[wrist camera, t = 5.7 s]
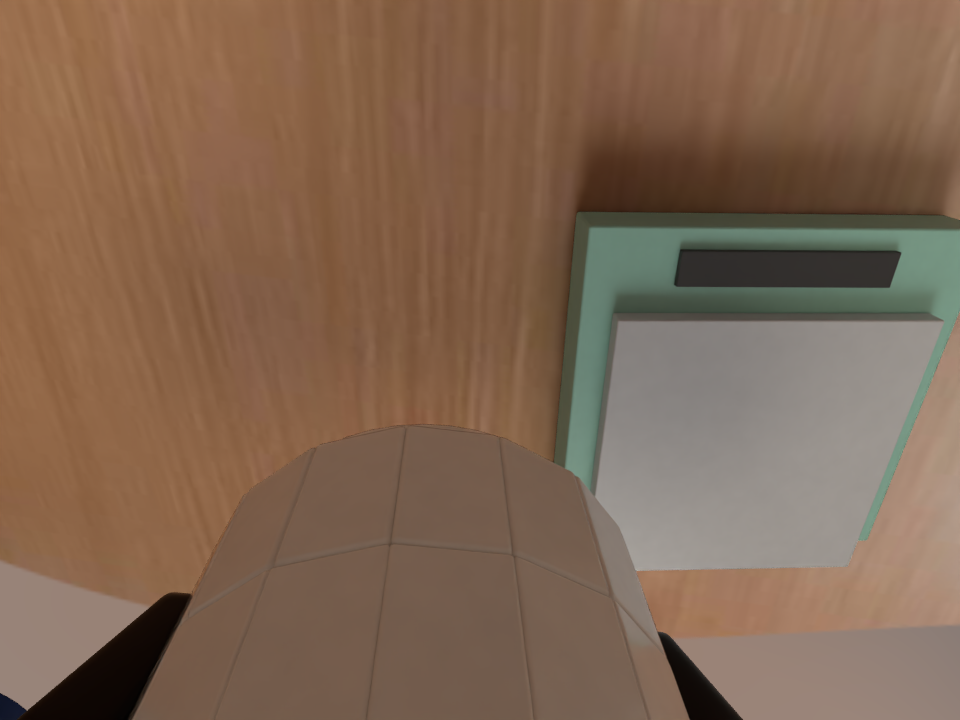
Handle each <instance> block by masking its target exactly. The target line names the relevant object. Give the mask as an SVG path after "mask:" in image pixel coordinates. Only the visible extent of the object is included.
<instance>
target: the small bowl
mask: <svg viewBox="0 0 960 720" xmlns="http://www.w3.org/2000/svg"><path fill="white" fill-rule="evenodd" d="M128 720H690V719H689V716H688V713H687V710H686V708H685V705H684V702H683V699H682V697H681V694H680V691H679V688H678V686H677V683H676V680H675V677H674V674H673V672H672V669H671V666H670V665H669V662H668V660H667V656H666V654H665V651H664V648H663V645H662V642H661V640H660V637H659V634H658V631H657V629H656V626H655V623H654V620H653V618H652V615H651V612H650V609H649V606H648V604H647V601H646V598H645V595H644V593H643V590H642V587H641V584H640V582H639V579H638V576H637V573H636V570H635V568H634V565H633V562H632V559H631V557H630V554H629V551H628V548H627V546H626V543H625V540H624V537H623V535H622V533H621V531H620V528H619V526H618V525H617V524H616V522H615V521H614V520H613V519H612V517H611V516H610V515H609V514H608V513H607V511H606V510H605V509H604V508H603V506H602V505H601V504H600V503H599V501H598V500H597V499H596V498H595V497H594V495H593V494H592V493H591V492H590V490H589V489H588V488H587V487H586V485H585V484H584V483H583V482H582V480H581V479H580V478H579V477H577V476H575V475H574V474H573V472H571V471H569V470H567V469H565V468H563V467H561V466H559V465H557V464H555V463H553V462H551V461H549V460H547V459H545V458H543V457H541V456H539V455H537V454H536V453H534V452H532V451H530V450H528V449H526V448H524V447H522V446H520V445H518V444H516V443H514V442H512V441H510V440H508V439H506V438H503V437H498V436H495V435H491V434H488V433H485V432H481V431H478V430H473V429H467V428H461V427H456V426H449V425H432V424H415V425H397V426H391V427H385V428H379V429H373V430H369V431H365V432H362V433H358V434H355V435H351V436H348V437H345V438H343V439H340V440H337V441H332V442H328V443H323V444H320V445H319V446H317V447H316V448H311V449H309V450H307V451H306V452H304V453H303V454H302V455H300V456H299V457H297V458H296V459H294V460H293V461H291V462H290V463H288V464H287V465H285V466H284V467H282V468H281V469H279V470H278V471H276V472H275V473H273V474H272V475H270V476H269V477H267V478H266V479H264V480H263V481H262V482H260V483H259V484H257V485H256V486H254V487H253V488H251V489H250V490H249V491H248V492H247V493H246V494H244V495H243V497H242V499H241V500H240V502H239V504H238V506H237V508H236V509H235V511H234V513H233V515H232V517H231V518H230V520H229V522H228V524H227V526H226V527H225V529H224V531H223V533H222V535H221V536H220V538H219V540H218V542H217V544H216V545H215V547H214V549H213V551H212V553H211V555H210V557H209V559H208V561H207V563H206V565H205V567H204V569H203V571H202V573H201V575H200V577H199V579H198V581H197V583H196V585H195V587H194V589H193V591H192V593H191V595H190V597H189V599H188V601H187V603H186V605H185V607H184V609H183V611H182V613H181V615H180V617H179V619H178V621H177V623H176V625H175V627H174V629H173V631H172V633H171V635H170V637H169V639H168V641H167V643H166V644H165V646H164V648H163V650H162V652H161V654H160V656H159V658H158V660H157V662H156V664H155V666H154V668H153V670H152V672H151V674H150V676H149V678H148V681H147V683H146V685H145V687H144V688H143V690H142V692H141V694H140V696H139V698H138V700H137V702H136V704H135V706H134V708H133V710H132V712H131V714H130V716H129V718H128Z"/></svg>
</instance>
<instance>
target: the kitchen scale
mask: <svg viewBox="0 0 960 720" xmlns="http://www.w3.org/2000/svg"><path fill="white" fill-rule="evenodd" d="M959 311H960V220H957V219H954V218H951V217H947V216H944V215H854V214H755V213H657V212H577V214H576V224H575V235H574V246H573V257H572V268H571V279H570V290H569V301H568V312H567V324H566V335H565V346H564V357H563V368H562V379H561V390H560V401H559V412H558V423H557V434H556V445H555V456H554V463H555V464H557V465H559V466H561V467H563V468H565V469H567V470H569V471H571V472H573V474H574V475H575V476H577V477H579V478H580V479H581V480H582V482H583V483H584V484H585V485H586V487H587V488H588V489H589V490H590V492H591V493H592V494H593V495H594V497H595V498H596V499H597V500H598V501H599V503H600V504H601V505H602V506H603V508H604V509H605V510H606V511H607V513H608V514H609V515H610V516H611V517H612V519H613V520H614V521H615V522H616V524H617V525H618V526H619V528H620V531H621V533H622V535H623V537H624V540H625V543H626V546H627V548H628V551H629V554H630V557H631V559H632V562H633V565H634V568H635V570H636V571H647V570H699V569H752V568H804V567H847V566H848V564H849V562H850V559H851V557H852V554H853V552H854V549H855V547H856V544H857V542H858V540H867V539H868V536H869V534H870V531H871V529H872V526H873V524H874V521H875V519H876V516H877V514H878V512H879V509H880V507H881V504H882V502H883V499H884V497H885V494H886V492H887V489H888V487H889V484H890V482H891V479H892V477H893V474H894V472H895V470H896V467H897V465H898V462H899V460H900V457H901V455H902V452H903V450H904V447H905V445H906V442H907V440H908V437H909V435H910V432H911V430H912V428H913V425H914V423H915V420H916V418H917V415H918V413H919V410H920V408H921V405H922V403H923V400H924V398H925V395H926V393H927V391H928V388H929V386H930V383H931V381H932V378H933V376H934V373H935V371H936V368H937V366H938V363H939V361H940V358H941V356H942V353H943V351H944V349H945V346H946V344H947V341H948V339H949V336H950V334H951V331H952V329H953V326H954V324H955V321H956V319H957V316H958V314H959Z"/></svg>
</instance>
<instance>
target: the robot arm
mask: <svg viewBox="0 0 960 720" xmlns="http://www.w3.org/2000/svg"><path fill="white" fill-rule="evenodd" d="M190 595H191V594H188V593H176V592H173V593H168V594H166V595H164V596H163V597H162V598H160V599H159V600H158V601H157V602H156V603H155V604H153V605H152V606H151V607H150V608H149V609H148V610H146V611H145V612H144V613H143V614H141V615H140V616H139V617H138V618H137V619H136V620H134V621H133V622H132V623H131V624H130V625H128V626H127V627H126V628H125V629H124V630H123V631H121V632H120V633H119V634H118V635H117V636H115V637H114V638H113V639H112V640H111V641H109V642H108V643H107V644H106V645H105V646H104V647H102V648H101V649H100V650H99V651H98V652H97V653H95V654H94V655H93V656H92V657H90V658H89V659H88V660H87V661H86V662H85V663H83V664H82V665H81V666H80V667H79V668H77V669H76V670H75V671H74V672H73V673H71V674H70V675H69V676H68V677H67V678H66V679H64V680H63V681H62V682H61V683H60V684H59V685H58V686H56V687H55V688H54V689H52V690H51V691H50V692H49V693H48V694H47V695H46V696H44V697H43V698H42V699H41V700H39V701H38V702H37V703H36V704H35V705H34V706H32V707H31V708H30V709H29V710H28V711H26V712H25V713H24V714H23V715H22V716H20V717H19V718H18V719H17V720H128V718H129V716H130V714H131V712H132V710H133V708H134V706H135V704H136V702H137V700H138V698H139V696H140V694H141V692H142V690H143V688H144V687H145V685H146V683H147V681H148V678H149V676H150V674H151V672H152V670H153V668H154V666H155V664H156V662H157V660H158V658H159V656H160V654H161V652H162V650H163V648H164V646H165V644H166V643H167V641H168V639H169V637H170V635H171V633H172V631H173V629H174V627H175V625H176V623H177V621H178V619H179V617H180V615H181V613H182V611H183V609H184V607H185V605H186V603H187V601H188V599H189V597H190ZM658 634H659V637H660V640H661V642H662V645H663V648H664V651H665V654H666V656H667V660H668V662H669V665H670V666H671V669H672V672H673V674H674V677H675V680H676V683H677V686H678V688H679V691H680V694H681V697H682V699H683V702H684V705H685V708H686V710H687V713H688V716H689V719H690V720H743V719H742V718H741V717H740V716H739V715H738V714H737V712H736V711H735V710H734V709H733V708H732V707H731V705H730V704H729V703H728V702H727V701H726V700H725V699H724V697H723V696H722V695H721V694H720V693H719V692H718V691H717V689H716V688H715V687H714V686H713V685H712V684H711V683H710V682H709V680H708V679H707V678H706V677H705V676H704V675H703V674H702V672H701V671H700V670H699V669H698V668H697V667H696V666H695V664H694V663H693V662H692V661H691V660H690V659H689V657H688V656H687V655H686V654H685V653H684V652H683V651H682V650H681V649H680V647H679V646H678V645H677V644H676V643H675V642H674V640H673V639H672V638H671V637H670V636H669V635H667V634H666V633H663V632H658Z"/></svg>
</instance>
